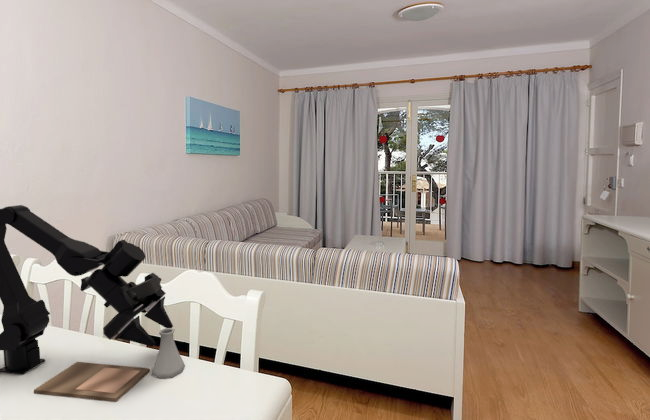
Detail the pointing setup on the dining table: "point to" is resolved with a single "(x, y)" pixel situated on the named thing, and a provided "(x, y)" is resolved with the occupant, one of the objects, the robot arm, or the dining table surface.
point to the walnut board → (93, 381)
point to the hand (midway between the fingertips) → (163, 336)
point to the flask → (167, 356)
